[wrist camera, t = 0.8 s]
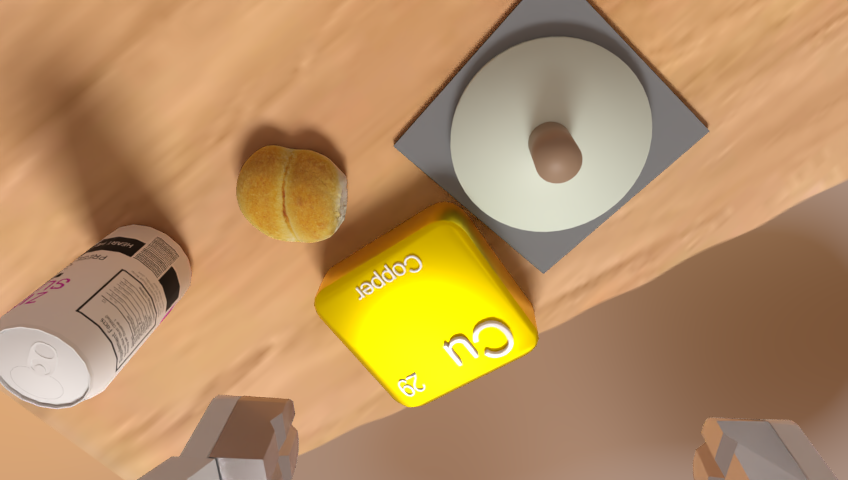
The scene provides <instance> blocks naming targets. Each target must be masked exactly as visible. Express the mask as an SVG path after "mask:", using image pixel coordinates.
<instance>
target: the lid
mask: <svg viewBox="0 0 848 480" xmlns="http://www.w3.org/2000/svg"><path fill="white" fill-rule="evenodd" d="M651 139H652V116H651V109H650V105H649V101H648V98H647V96H646V93H645V91H644V88H643V86H642V85H641V83H640V81H639V80H638V78H637V76H636V75H635V74H634V73H633V71H632V70H631V69H630V68H629V66H628V65H626V64H625V63H624V62H623V61H622V60H621V59H620V58H619V57H617V56H616V55H614V54H613V53H611V52H610V51H608V50H607V49H605V48H603V47H601V46H599V45H597V44H594V43H592V42H589V41H586V40H582V39H579V38H572V37H566V36H550V37H542V38H536V39H532V40H528V41H525V42H522V43H519V44H517V45H515V46H512V47H510V48H508V49H506V50H505V51H503V52H501V53H499V54H498V55H497V56H495V57H494V58H493V59H491V60H490V61H489V62H487V63H486V64H485V65H484V66H483V67H482V68H481V69H480V70H479V71H478V72H477V73H476V74H475V76H474V77H473V78H472V79H471V81H470V82H469V83H468V85H467V87H466V88H465V90H464V92H463V93H462V95H461V97H460V100H459V102H458V104H457V106H456V110H455V113H454V117H453V121H452V127H451V143H450V148H451V156H452V162H453V166H454V170H455V173H456V175H457V178H458V180H459V182H460V184H461V186H462V187H463V189H464V191H465V193H466V194H467V195H468V196H469V198H470V199H471V200H472V202H473V203H475V204H476V205H477V206H478V207H479V208H480V209H481V210H482V211H483V212H485V213H486V214H487V215H489V216H490V217H492V218H493V219H495V220H497V221H499V222H501V223H503V224H506V225H508V226H510V227H514V228H517V229H521V230H527V231H534V232H551V231H560V230H565V229H570V228H573V227H576V226H579V225H582V224H585V223H587V222H589V221H591V220H593V219H595V218H597V217H599V216H600V215H602V214H604V213H605V212H607V211H608V210H609V209H610V208H612V207H613V206H614V205H616V204H617V203H618V202H619V201H620V200H621V199H622V198H623V197H624V196H625V195H626V193H627V192H628V191H629V190H630V189H631V187H632V186H633V185H634V183H635V181H636V180H637V178H638V177H639V175H640V173H641V171H642V169H643V167H644V165H645V162H646V159H647V156H648V153H649V150H650V144H651Z"/></svg>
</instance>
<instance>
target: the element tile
mask: <svg viewBox="0 0 848 480" xmlns="http://www.w3.org/2000/svg"><path fill="white" fill-rule="evenodd" d="M314 306H315V309H316V312H317V314H318V315H319V317H320V318H321V319H322V320H323V321H324V323H325V324H326V325H327V326H328V327H329V328H330V329H331V330H332V331H333V333H334V334H335V335H336V336H337V337H338V338H339V339H340V340H341V341H342V342H343V344H344V345H345V346H346V347H347V348H348V349H349V350H350V351H351V352H352V353H353V355H354V356H355V357H356V358H357V359H358V360H359V361H360V362H361V363H362V365H363V366H364V367H365V368H366V369H367V370H368V371H369V372H370V373H371V374H372V376H373V377H374V378H375V379H376V380H377V381H378V382H379V383H380V384H381V385H382V387H383V388H384V389H385V390H386V391H387V392H388V393H389V394H390V395H391V397H392V398H393V399H394V400H395V401H397V402H398V403H400V404H402V405H404V406H407V407H418V406H422V405H425V404H428V403H430V402H432V401H433V400H435V399H438V398H440V397H442V396H444V395H446V394H448V393H450V392H452V391H454V390H456V389H458V388H460V387H462V386H464V385H466V384H468V383H470V382H472V381H474V380H476V379H478V378H480V377H482V376H484V375H486V374H489V373H490V372H493V371H495V370H497V369H498V368H501V367H503V366H505V365H506V364H509V363H511V362H513V361H515V360H517V359H519V358H521V357H523V356H525V355H527V354H528V353H529V352H531V351H532V350H533V349H534V348H535V347H536V345H537V342H538V339H539V337H538V330H537V325H536V320H535V315H534V310H533V307H532V304H531V303H530V301H529V300H528V299H527V297H526V296H525V295H524V293H523V292H522V290H521V289H520V288H519V286H518V285H517V283H516V282H515V281H514V279H513V278H512V276H511V275H510V274H509V272H508V271H507V269H506V268H505V267H504V265H503V264H502V263H501V261H500V260H499V258H498V257H497V256H496V254H495V253H494V251H493V250H492V249H491V247H490V246H489V244H488V243H487V242H486V240H485V239H484V237H483V236H482V235H481V233H480V232H479V231H478V229H477V228H476V226H475V225H474V224H473V222H472V221H471V219H470V218H469V217H468V215H467V214H466V213H465V212H464V211H463V210H462V209H461V208H460V207H458V206H457V205H455V204H453V203H448V202H442V203H436V204H434V205H432V206H429V207H428V208H426V209H424V210H423V211H421V212H420V213H418V214H416V215H415V216H413V217H412V218H410V219H408V220H407V221H405V222H404V223H402V224H400V225H399V226H397V227H396V228H394V229H392V230H391V231H389V232H388V233H386V234H384V235H383V236H381V237H380V238H378V239H376V240H375V241H373V242H371V243H370V244H368V245H367V246H365V247H363V248H362V249H360V250H359V251H357V252H355V253H354V254H352V255H351V256H349V257H347V258H346V259H344V260H343V261H341V262H339V263H338V264H336V265H335V266H333V267H332V268H331V269H329V270H328V272H327V273H326V275H325V276H324V278H323V281H322V283H321V285H320V287H319V290H318V292H317V294H316V296H315V302H314Z"/></svg>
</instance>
